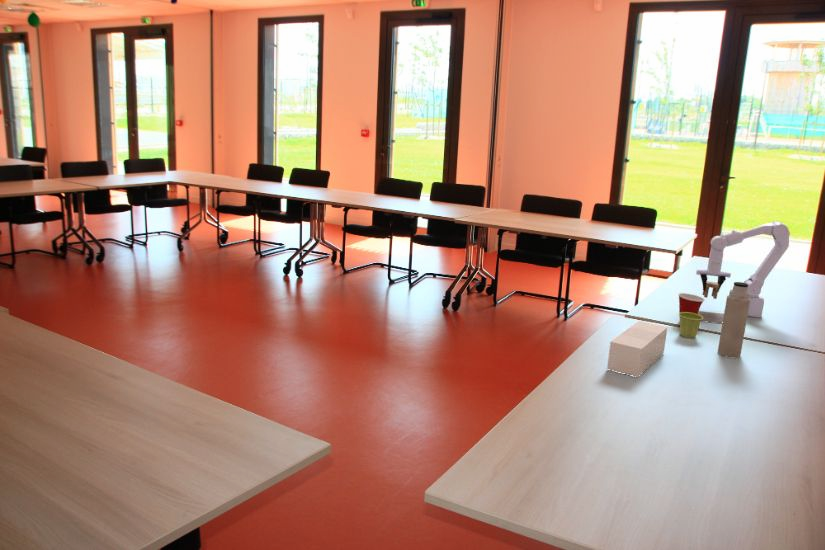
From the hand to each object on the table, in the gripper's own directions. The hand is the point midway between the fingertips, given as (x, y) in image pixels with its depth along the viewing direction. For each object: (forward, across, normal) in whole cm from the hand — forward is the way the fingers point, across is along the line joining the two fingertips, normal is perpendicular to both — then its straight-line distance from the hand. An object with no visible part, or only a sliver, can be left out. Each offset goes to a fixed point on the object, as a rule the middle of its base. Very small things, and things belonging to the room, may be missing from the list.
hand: (710, 290), depth 321 cm
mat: (+9, 0, +14) cm, 17 cm away
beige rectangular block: (+9, +40, +85) cm, 95 cm away
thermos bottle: (+9, +4, +64) cm, 65 cm away
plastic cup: (+9, +13, +26) cm, 31 cm away
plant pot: (+9, +16, +46) cm, 50 cm away
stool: (+3, 0, 0) cm, 3 cm away
